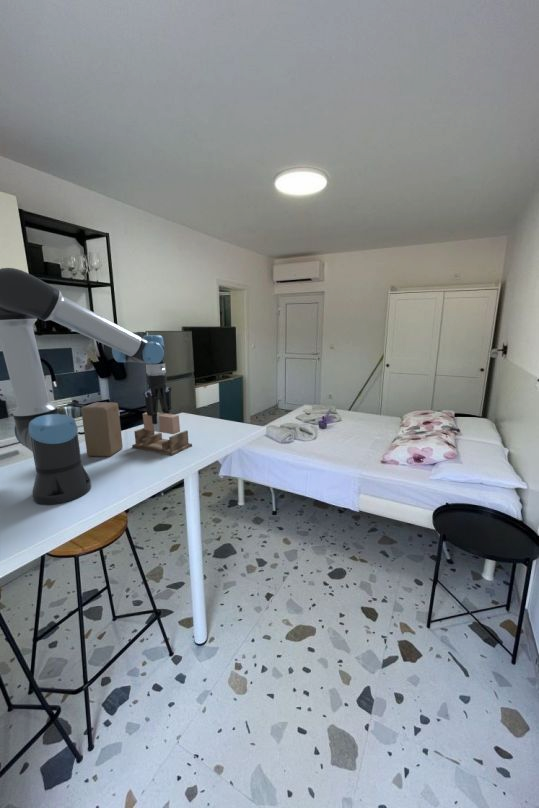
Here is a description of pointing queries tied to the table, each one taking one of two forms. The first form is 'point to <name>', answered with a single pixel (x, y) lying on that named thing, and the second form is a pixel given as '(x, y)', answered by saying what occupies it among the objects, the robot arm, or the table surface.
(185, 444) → the rack
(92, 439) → the wooden block
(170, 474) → the table surface
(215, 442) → the table surface
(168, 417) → the pinkish tan block
